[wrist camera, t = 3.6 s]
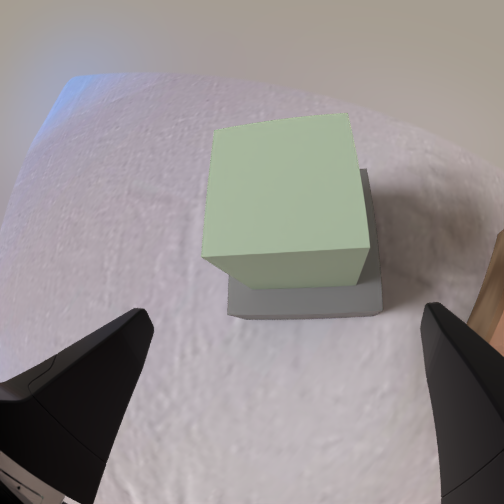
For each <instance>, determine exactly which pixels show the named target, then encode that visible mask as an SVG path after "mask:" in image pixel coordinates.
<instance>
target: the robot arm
mask: <svg viewBox="0 0 504 504" xmlns="http://www.w3.org/2000/svg"><path fill="white" fill-rule="evenodd" d="M420 330H421V338H422V345H423V353H424V362H425V371H426V378H427V383H428V388H429V393H430V398H431V404H432V410H433V416H434V422H435V429H436V436H437V445H438V454H439V465H440V479H441V497H442V498H441V504H504V356H502V355H501V354H500V353H499V352H498V351H497V350H496V349H495V348H493V347H492V346H491V345H490V344H489V343H488V342H487V341H485V340H484V339H483V338H482V337H481V336H480V335H478V334H477V333H476V332H475V331H474V330H473V329H471V328H470V327H469V326H468V325H467V324H465V323H464V322H463V321H462V320H461V319H459V318H458V317H457V316H456V315H454V314H453V313H452V312H451V311H449V310H448V309H447V308H446V307H444V306H443V305H442V304H441V303H439V302H433V303H427V304H426V305H425V308H424V312H423V317H422V321H421V328H420ZM153 334H154V326H153V324H152V322H151V320H150V318H149V315H148V313H147V311H146V310H145V309H143V308H134V309H132V310H130V311H128V312H127V313H125V314H123V315H122V316H120V317H118V318H116V319H115V320H113V321H111V322H110V323H108V324H106V325H104V326H103V327H101V328H99V329H98V330H96V331H94V332H93V333H91V334H89V335H88V336H86V337H84V338H82V339H81V340H79V341H77V342H76V343H74V344H72V345H71V346H69V347H67V348H66V349H64V350H62V351H61V352H59V353H58V354H56V355H54V356H52V357H51V358H49V359H47V360H45V361H44V362H42V363H40V364H38V365H36V366H35V367H33V368H31V369H29V370H27V371H25V372H23V373H21V374H19V375H17V376H15V377H13V378H11V379H9V380H7V381H5V382H2V383H0V504H67V503H65V502H64V501H63V500H64V498H65V496H67V497H69V498H71V499H73V500H75V501H77V502H78V503H80V504H93V503H94V500H95V497H96V494H97V491H98V488H99V485H100V482H101V478H102V476H103V473H104V470H105V467H106V463H107V460H108V458H109V455H110V452H111V449H112V446H113V444H114V441H115V438H116V435H117V433H118V430H119V427H120V425H121V422H122V419H123V417H124V414H125V412H126V409H127V406H128V404H129V401H130V399H131V396H132V394H133V391H134V389H135V386H136V384H137V381H138V379H139V376H140V374H141V371H142V369H143V366H144V363H145V359H146V356H147V353H148V350H149V346H150V343H151V340H152V337H153Z"/></svg>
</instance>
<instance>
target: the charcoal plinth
mask: <svg viewBox="0 0 504 504" xmlns="http://www.w3.org/2000/svg"><path fill="white" fill-rule="evenodd" d="M359 170H360V176H361V182H362V188H363V194H364V201H365V208H366V216H367V224H368V232H369V242H370V249H369V252H368V255H367V257H366V260H365V263H364V265H363V268H362V271H361V273H360V276H359V279H358V281H357V284H356V285H353V286H335V287H313V288H287V289H251V288H249V287H247V286H246V285H244V284H243V283H241V282H240V281H238V280H236V279H235V278H233V277H232V276H230V275H229V283H228V308H227V315H230V316H234V317H238V318H242V319H246V320H283V319H324V318H347V317H365V316H374V315H376V314H378V313H379V312H381V311H383V303H382V285H381V271H380V260H379V249H378V240H377V232H376V224H375V216H374V209H373V203H372V196H371V190H370V184H369V179H368V173H367V169H359Z"/></svg>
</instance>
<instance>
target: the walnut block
mask: <svg viewBox="0 0 504 504" xmlns="http://www.w3.org/2000/svg"><path fill="white" fill-rule="evenodd" d="M503 311H504V230H502V231H501V232H500V233H499V234H498V236H497V240H496V243H495V247H494V250H493V254H492V257H491V261H490V264H489V267H488V270H487V273H486V276H485V279H484V282H483V284H482V287H481V290H480V293H479V295H478V298H477V300H476V303H475V305H474V308H473V310H472V313H471V315H470V317H469V320H468V322H467V325H468V326H469V327H470V328H471V329H473V330H474V331H475V332H476V333H477V334H478V335H480V336H481V337H482V338H483V339H484V340H485V341H487V342H488V343H489V342H490V340H491V338H492V336H493V334H494V332H495V330H496V327H497V325H498V323H499V321H500V318H501V316H502V314H503Z"/></svg>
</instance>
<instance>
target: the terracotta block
mask: <svg viewBox="0 0 504 504" xmlns="http://www.w3.org/2000/svg"><path fill="white" fill-rule="evenodd" d="M489 344H490V345H491V346H492V347H493V348H495V349H496V350H497V351H498V352H499V353H500V354H501V355H502V356H504V311H503V314H502V316H501V318H500V321H499V323H498V325H497V327H496V330H495V332H494V334H493V336H492V338H491V340H490V342H489Z"/></svg>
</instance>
